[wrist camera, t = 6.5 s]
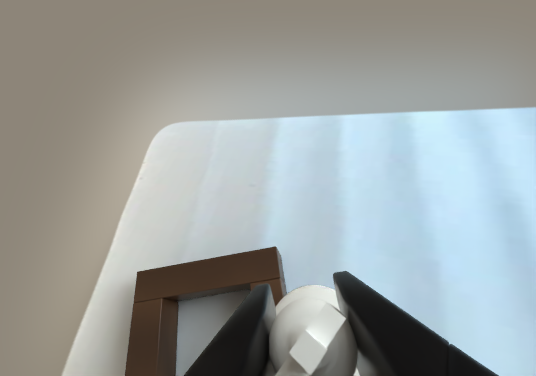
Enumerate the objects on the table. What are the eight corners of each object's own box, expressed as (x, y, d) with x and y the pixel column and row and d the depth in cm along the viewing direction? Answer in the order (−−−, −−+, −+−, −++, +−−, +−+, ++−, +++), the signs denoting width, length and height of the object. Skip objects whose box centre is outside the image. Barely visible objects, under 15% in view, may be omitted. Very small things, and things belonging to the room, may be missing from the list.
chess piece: (248, 343, 13) (110, 365, 4) (306, 266, 14) (285, 170, 6) (330, 432, 11) (364, 801, 2) (389, 332, 12) (551, 334, 4)
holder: (308, 433, 15) (306, 450, 13) (140, 452, 16) (112, 471, 14) (280, 254, 21) (276, 246, 18) (155, 277, 22) (136, 271, 19)
